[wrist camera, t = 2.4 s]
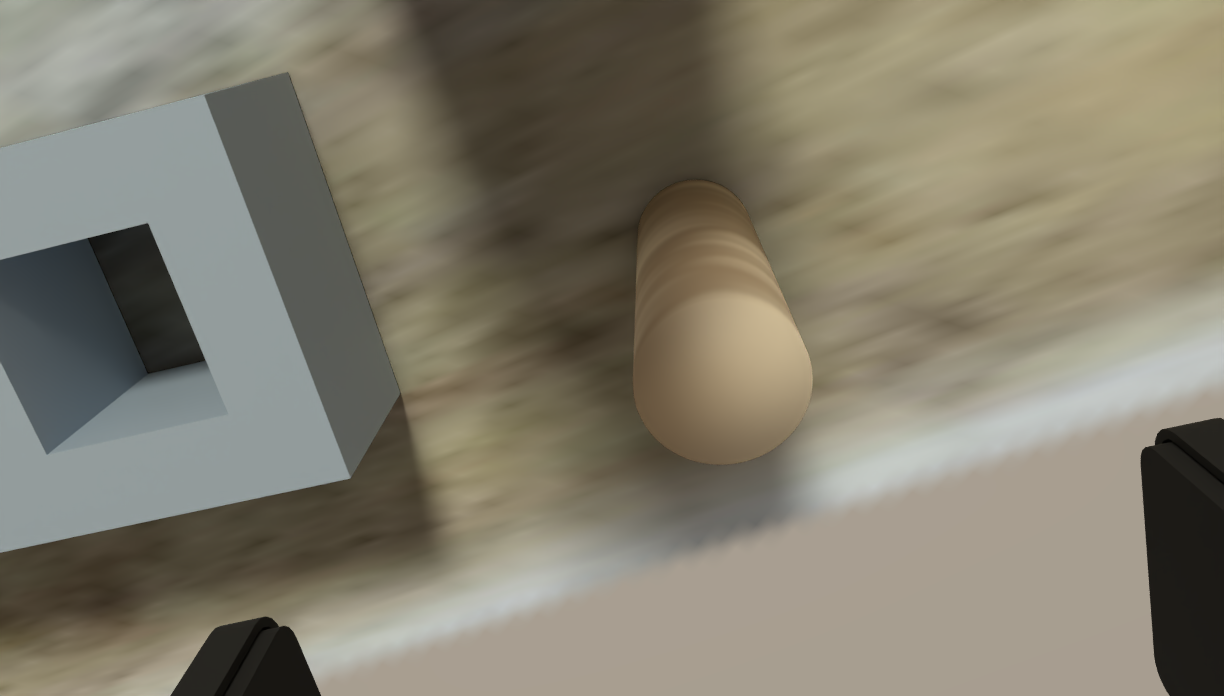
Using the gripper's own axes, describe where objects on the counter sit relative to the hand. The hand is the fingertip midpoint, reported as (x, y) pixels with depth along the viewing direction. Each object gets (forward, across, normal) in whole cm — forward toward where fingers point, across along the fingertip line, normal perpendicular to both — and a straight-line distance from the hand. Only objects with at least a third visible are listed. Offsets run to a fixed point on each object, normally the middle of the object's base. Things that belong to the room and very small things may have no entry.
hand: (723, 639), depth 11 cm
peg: (+16, -1, 0) cm, 16 cm away
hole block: (+17, +17, -2) cm, 24 cm away
